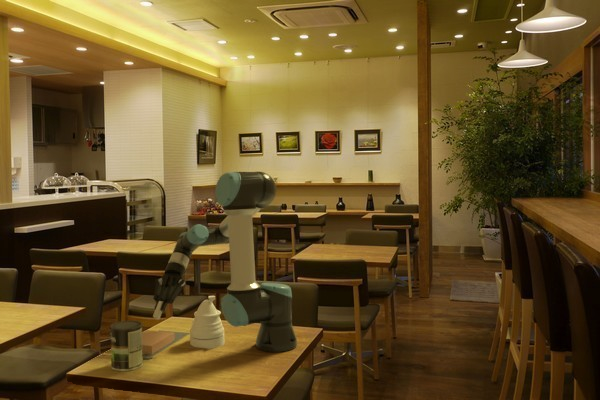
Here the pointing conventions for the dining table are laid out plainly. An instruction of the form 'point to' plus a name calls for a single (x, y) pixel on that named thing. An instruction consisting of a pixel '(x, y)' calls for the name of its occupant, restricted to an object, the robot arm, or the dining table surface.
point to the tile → (155, 341)
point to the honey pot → (207, 326)
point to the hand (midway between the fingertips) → (155, 318)
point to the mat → (176, 338)
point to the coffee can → (126, 345)
